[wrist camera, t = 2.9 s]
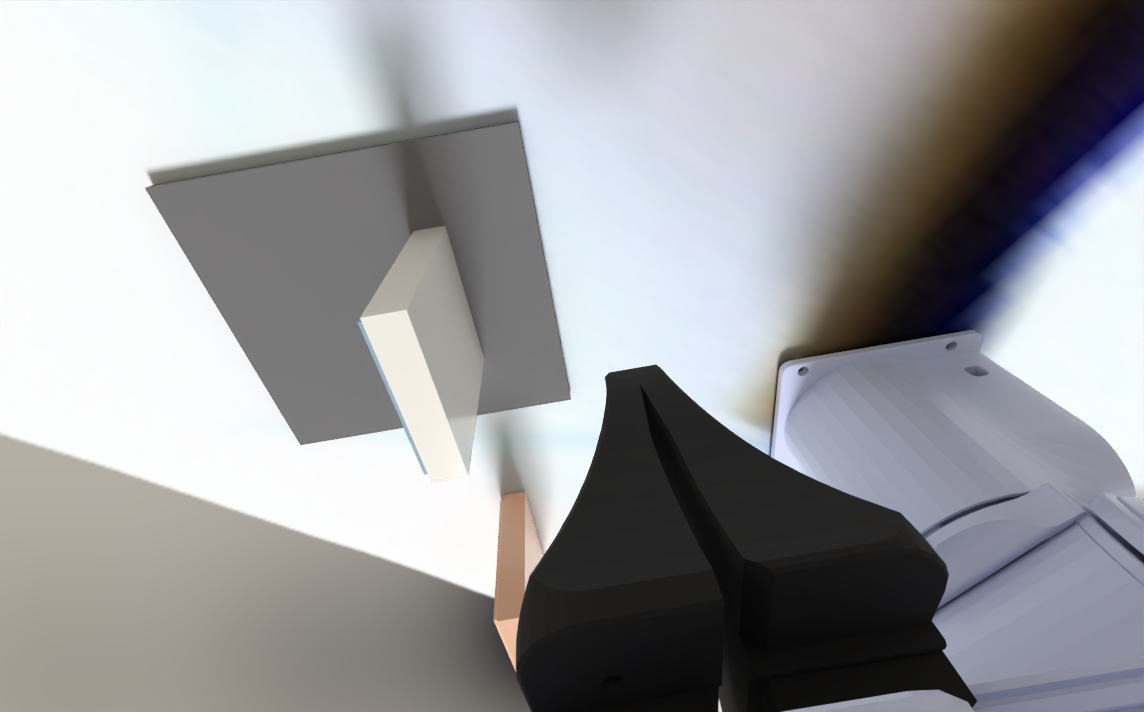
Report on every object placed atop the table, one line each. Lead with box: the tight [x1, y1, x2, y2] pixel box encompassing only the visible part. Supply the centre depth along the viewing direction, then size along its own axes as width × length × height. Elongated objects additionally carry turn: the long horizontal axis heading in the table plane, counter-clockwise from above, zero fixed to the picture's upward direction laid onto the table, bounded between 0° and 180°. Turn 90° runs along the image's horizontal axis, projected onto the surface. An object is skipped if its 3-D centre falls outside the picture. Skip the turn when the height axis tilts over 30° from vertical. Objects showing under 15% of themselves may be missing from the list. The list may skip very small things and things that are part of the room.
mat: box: [145, 121, 571, 445], centre depth 20 cm, size 13×12×1 cm
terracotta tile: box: [494, 491, 544, 671], centre depth 25 cm, size 1×6×7 cm, turn 9°
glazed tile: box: [357, 226, 484, 482], centre depth 17 cm, size 1×6×7 cm, turn 9°
